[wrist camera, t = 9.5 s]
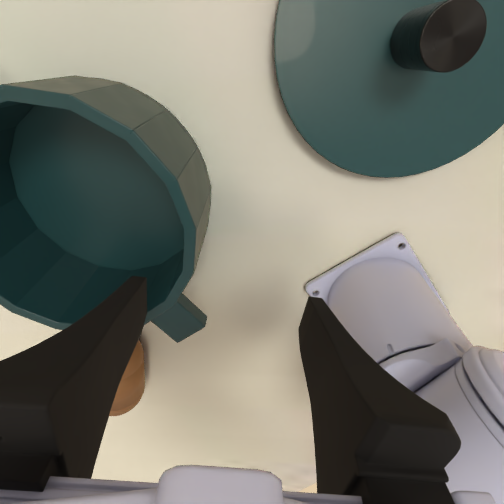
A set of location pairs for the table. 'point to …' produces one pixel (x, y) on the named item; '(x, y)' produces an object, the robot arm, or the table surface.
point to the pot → (97, 202)
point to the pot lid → (391, 79)
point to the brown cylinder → (130, 384)
